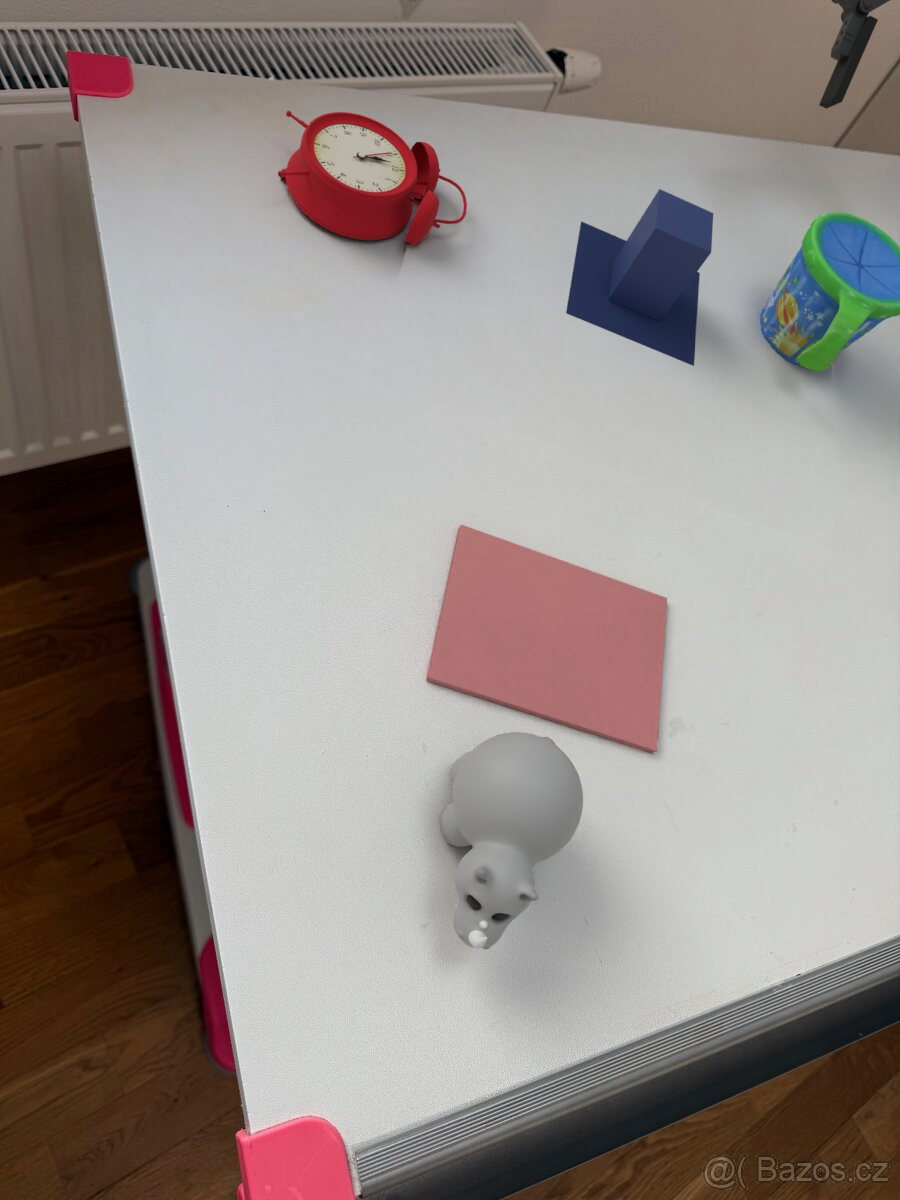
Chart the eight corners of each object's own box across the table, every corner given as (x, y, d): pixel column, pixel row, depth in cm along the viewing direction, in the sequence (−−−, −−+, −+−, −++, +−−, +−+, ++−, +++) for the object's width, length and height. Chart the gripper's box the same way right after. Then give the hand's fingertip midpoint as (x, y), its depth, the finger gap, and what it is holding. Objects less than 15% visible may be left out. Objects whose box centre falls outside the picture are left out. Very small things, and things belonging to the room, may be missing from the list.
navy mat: (696, 276, 89) (699, 272, 88) (691, 369, 83) (694, 365, 82) (578, 225, 87) (581, 220, 86) (563, 317, 80) (566, 312, 80)
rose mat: (664, 600, 70) (667, 597, 69) (653, 753, 64) (657, 751, 63) (458, 527, 67) (461, 523, 66) (425, 680, 61) (428, 677, 60)
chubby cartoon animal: (383, 934, 53) (432, 904, 46) (449, 743, 59) (501, 691, 52) (501, 984, 53) (567, 963, 46) (554, 790, 60) (618, 746, 53)
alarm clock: (284, 90, 76) (473, 108, 77) (287, 159, 81) (464, 176, 83) (272, 179, 71) (475, 197, 72) (277, 247, 76) (465, 263, 78)
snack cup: (823, 422, 85) (907, 345, 77) (723, 360, 85) (795, 275, 76) (852, 320, 94) (930, 240, 85) (761, 263, 93) (830, 177, 85)
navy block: (663, 283, 86) (713, 212, 79) (660, 322, 83) (711, 252, 77) (613, 261, 85) (659, 188, 78) (608, 300, 82) (655, 227, 76)
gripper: (1108, -45, 83) (990, 200, 88) (864, -183, 79) (753, 85, 83) (1181, -80, 76) (1048, 190, 81) (917, -234, 71) (791, 62, 76)
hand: (898, 137), depth 82 cm, fingers open, 13 cm apart
